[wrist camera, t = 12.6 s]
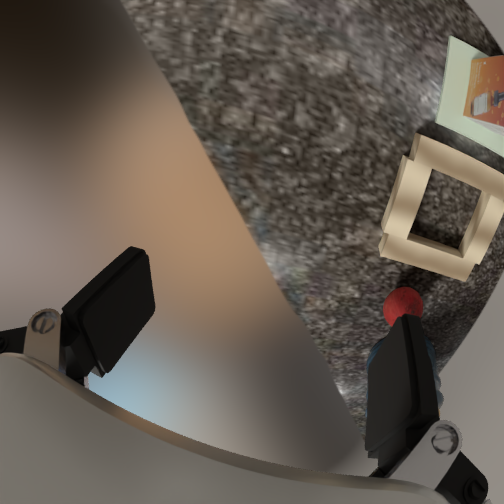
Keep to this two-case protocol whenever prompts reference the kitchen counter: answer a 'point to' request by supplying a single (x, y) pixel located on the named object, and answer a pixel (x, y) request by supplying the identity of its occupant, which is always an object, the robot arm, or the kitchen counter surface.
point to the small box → (486, 93)
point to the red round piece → (402, 304)
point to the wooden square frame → (409, 198)
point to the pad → (462, 97)
